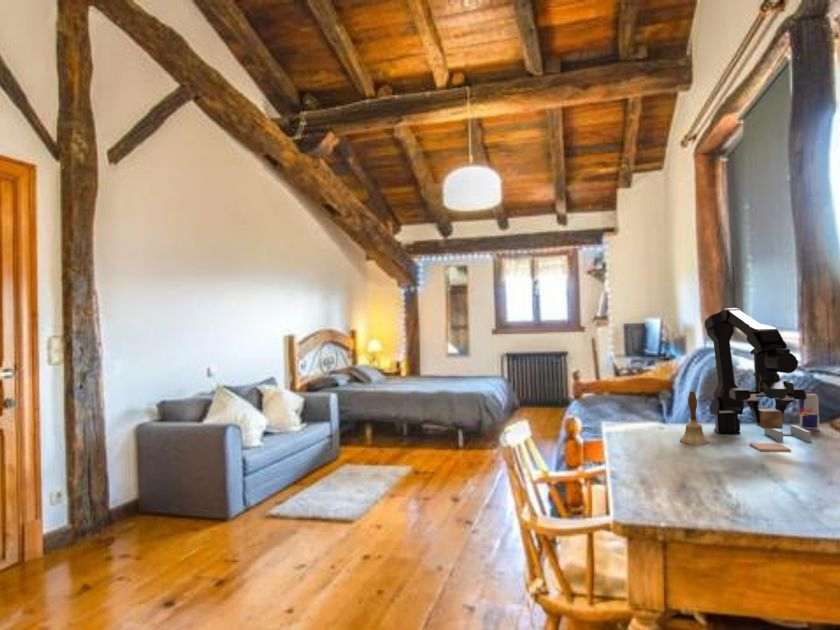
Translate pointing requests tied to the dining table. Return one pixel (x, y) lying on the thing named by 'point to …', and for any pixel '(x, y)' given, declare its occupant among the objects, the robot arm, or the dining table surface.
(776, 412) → the walnut block
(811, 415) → the energy drink
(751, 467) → the dining table surface
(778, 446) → the coaster
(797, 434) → the channel
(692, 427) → the hand bell
